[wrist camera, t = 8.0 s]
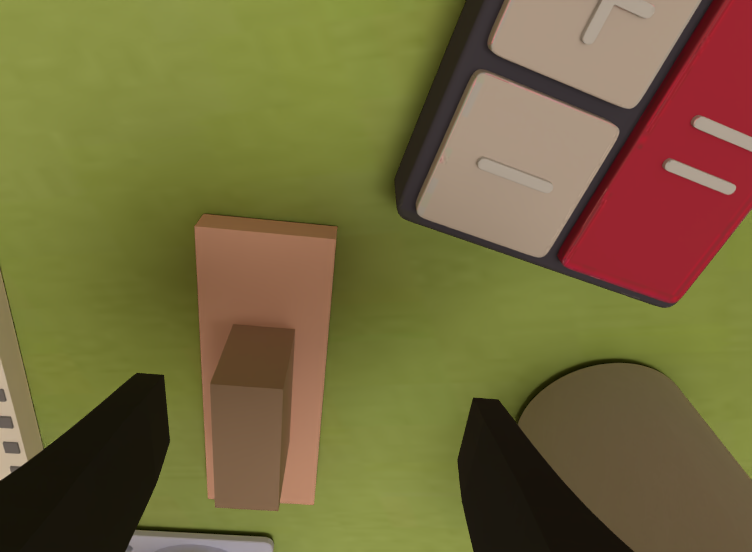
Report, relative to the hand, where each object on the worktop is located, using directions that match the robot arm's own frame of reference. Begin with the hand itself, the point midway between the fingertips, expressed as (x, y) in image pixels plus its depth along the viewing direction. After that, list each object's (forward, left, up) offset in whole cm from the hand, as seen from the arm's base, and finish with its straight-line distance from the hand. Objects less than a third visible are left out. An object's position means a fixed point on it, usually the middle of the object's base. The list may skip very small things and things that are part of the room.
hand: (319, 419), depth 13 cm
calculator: (+8, -9, -10) cm, 16 cm away
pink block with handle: (-6, +3, -9) cm, 11 cm away
